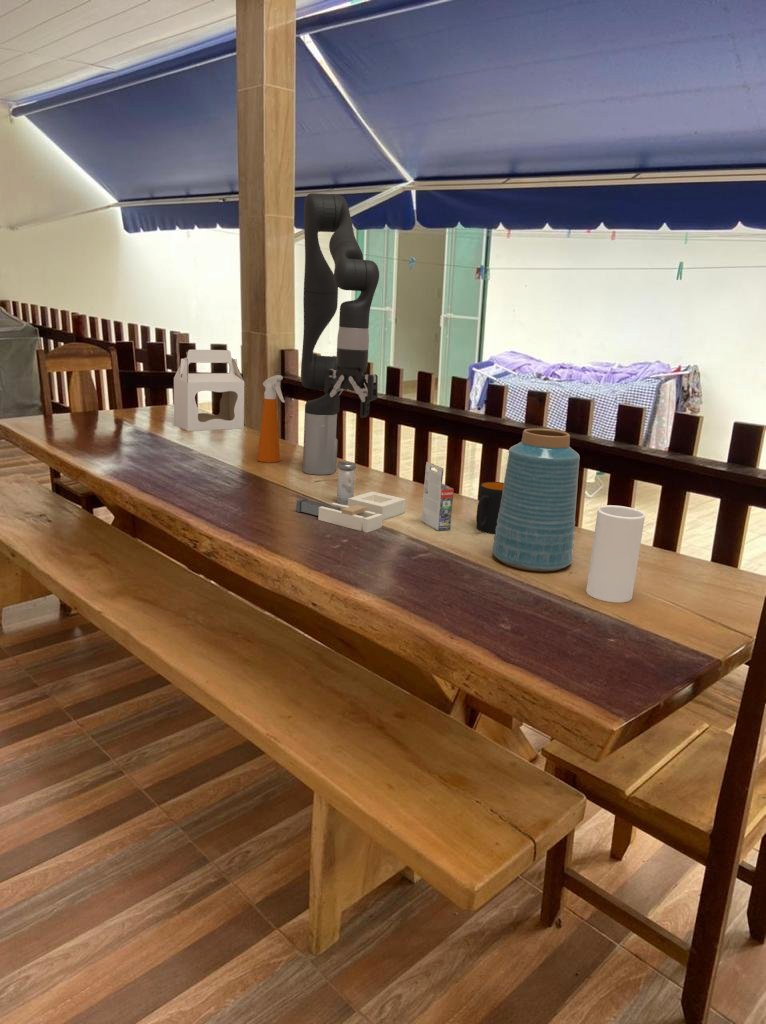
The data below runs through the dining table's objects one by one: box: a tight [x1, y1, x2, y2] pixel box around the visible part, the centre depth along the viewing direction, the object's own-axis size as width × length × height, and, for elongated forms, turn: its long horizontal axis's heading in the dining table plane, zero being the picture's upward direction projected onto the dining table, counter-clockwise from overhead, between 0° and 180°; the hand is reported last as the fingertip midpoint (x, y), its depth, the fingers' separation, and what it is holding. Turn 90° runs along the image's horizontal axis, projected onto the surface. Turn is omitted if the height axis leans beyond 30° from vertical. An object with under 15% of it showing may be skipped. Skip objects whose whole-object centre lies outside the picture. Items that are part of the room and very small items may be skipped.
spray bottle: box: [256, 374, 286, 464], centre depth 233 cm, size 7×11×26 cm, turn 41°
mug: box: [475, 481, 504, 535], centre depth 178 cm, size 8×12×10 cm
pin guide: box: [317, 502, 383, 534], centre depth 177 cm, size 6×14×4 cm, turn 56°
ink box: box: [421, 461, 454, 532], centre depth 179 cm, size 4×8×15 cm, turn 26°
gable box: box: [173, 349, 245, 432], centre depth 283 cm, size 22×13×28 cm, turn 125°
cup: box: [585, 504, 646, 604], centre depth 142 cm, size 8×8×16 cm
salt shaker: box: [336, 461, 357, 506], centre depth 194 cm, size 5×5×10 cm
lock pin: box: [295, 497, 340, 516], centre depth 182 cm, size 3×11×3 cm, turn 56°
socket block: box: [347, 491, 407, 522], centre depth 188 cm, size 10×10×4 cm
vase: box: [491, 428, 581, 573], centre depth 157 cm, size 16×16×27 cm
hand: (349, 414), depth 190 cm, fingers open, 8 cm apart
